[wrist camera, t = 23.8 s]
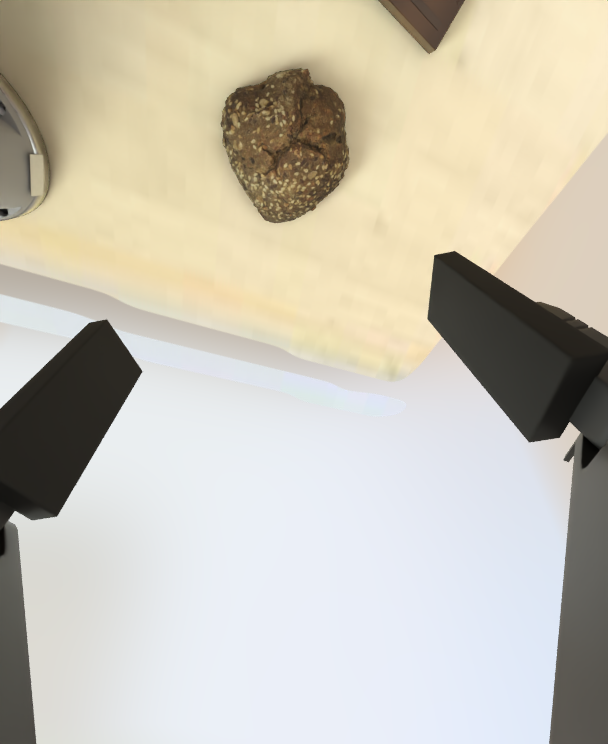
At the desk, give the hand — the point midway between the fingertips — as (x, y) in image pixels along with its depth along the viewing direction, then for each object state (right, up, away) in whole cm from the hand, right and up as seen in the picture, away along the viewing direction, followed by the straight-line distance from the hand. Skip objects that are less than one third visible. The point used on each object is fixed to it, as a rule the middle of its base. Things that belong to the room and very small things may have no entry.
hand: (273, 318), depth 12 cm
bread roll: (0, +22, +20) cm, 29 cm away
